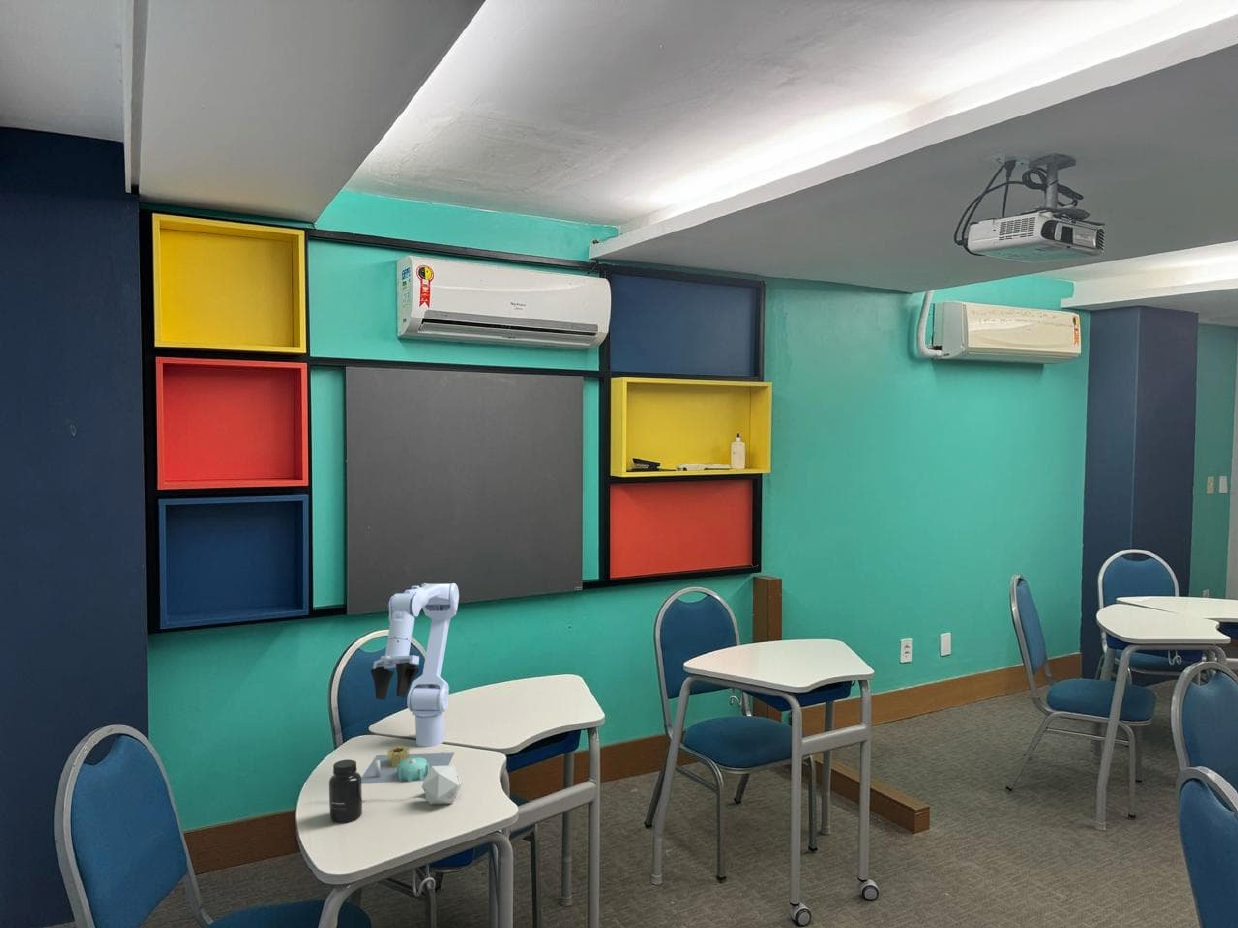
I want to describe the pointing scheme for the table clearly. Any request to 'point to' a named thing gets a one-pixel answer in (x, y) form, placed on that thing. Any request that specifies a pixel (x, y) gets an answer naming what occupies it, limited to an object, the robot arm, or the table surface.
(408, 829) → the table surface
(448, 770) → the die
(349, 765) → the supplement bottle
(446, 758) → the gear board
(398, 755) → the yellow faceted ring
